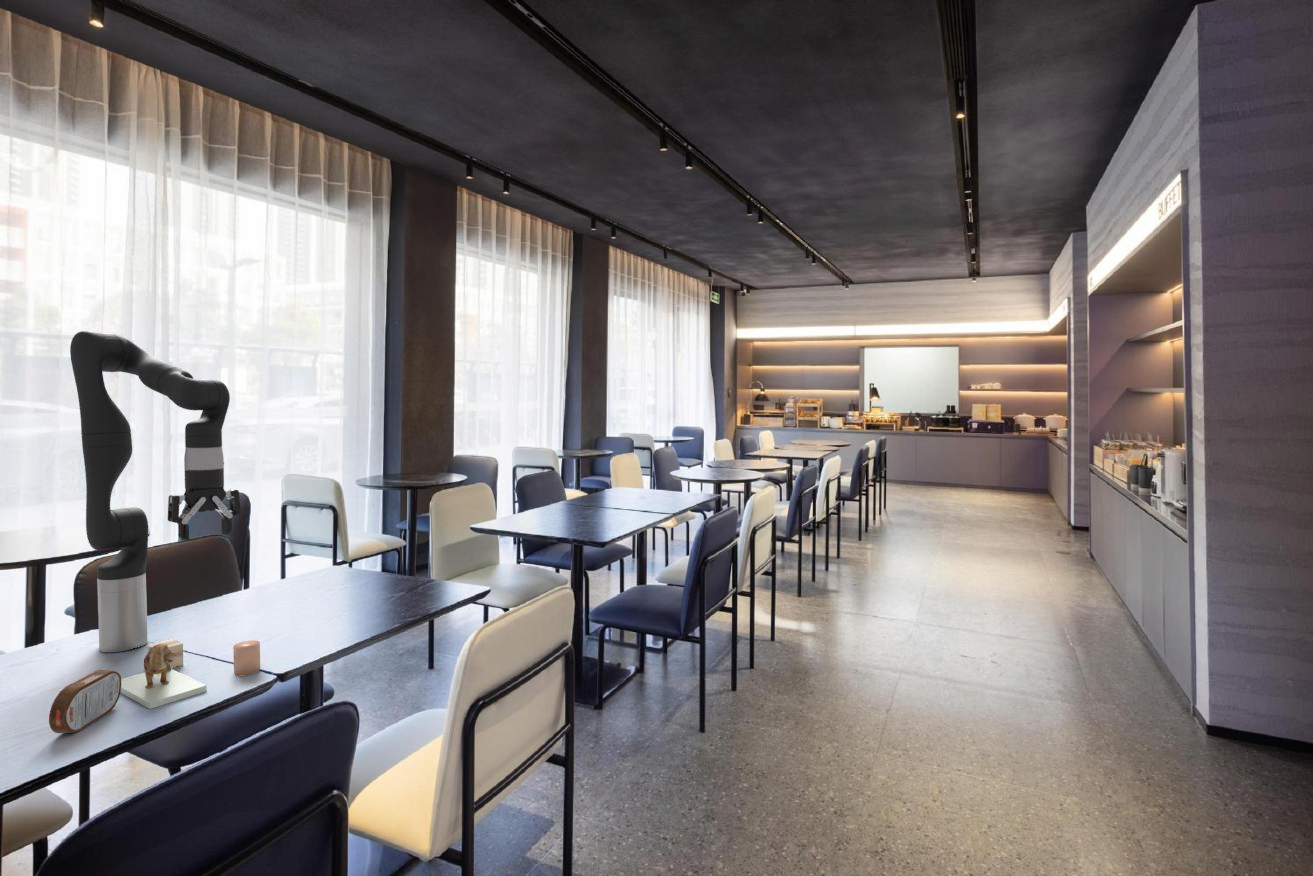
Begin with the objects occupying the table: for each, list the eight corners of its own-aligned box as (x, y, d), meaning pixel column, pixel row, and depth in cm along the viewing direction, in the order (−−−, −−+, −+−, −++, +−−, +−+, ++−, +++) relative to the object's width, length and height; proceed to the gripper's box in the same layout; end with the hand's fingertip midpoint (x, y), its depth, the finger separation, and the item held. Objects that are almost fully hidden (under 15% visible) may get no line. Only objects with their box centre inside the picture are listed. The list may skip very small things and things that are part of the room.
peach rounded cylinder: (229, 672, 150) (228, 645, 150) (252, 665, 155) (252, 639, 154) (241, 677, 148) (240, 650, 148) (264, 670, 152) (264, 643, 152)
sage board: (111, 687, 142) (110, 681, 142) (166, 671, 150) (166, 666, 150) (149, 709, 132) (149, 703, 132) (206, 691, 141) (206, 685, 141)
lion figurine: (178, 688, 139) (177, 644, 139) (145, 695, 136) (144, 650, 135) (170, 666, 150) (169, 626, 150) (140, 672, 147) (139, 631, 146)
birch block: (147, 667, 153) (147, 645, 153) (173, 660, 157) (172, 638, 157) (157, 672, 150) (157, 649, 150) (183, 665, 154) (182, 643, 154)
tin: (108, 704, 134) (107, 662, 134) (126, 704, 134) (124, 661, 134) (47, 742, 119) (45, 695, 119) (66, 742, 119) (65, 694, 119)
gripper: (229, 463, 165) (230, 530, 166) (161, 468, 153) (162, 540, 154) (245, 465, 161) (246, 534, 162) (176, 470, 149) (178, 544, 150)
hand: (205, 537), depth 158 cm, fingers open, 8 cm apart
